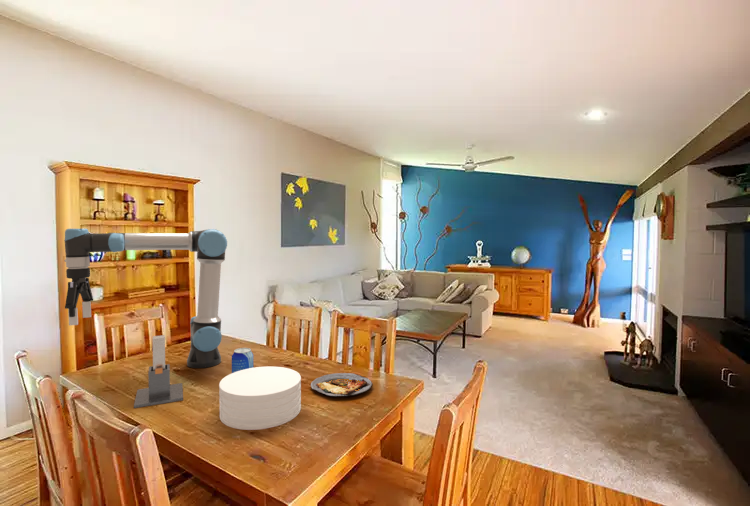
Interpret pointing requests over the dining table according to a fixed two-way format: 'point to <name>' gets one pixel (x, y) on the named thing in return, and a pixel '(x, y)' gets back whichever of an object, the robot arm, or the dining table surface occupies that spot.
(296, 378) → the plate stack
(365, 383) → the food plate
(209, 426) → the dining table surface
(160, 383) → the stand
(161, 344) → the column
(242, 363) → the beer can
